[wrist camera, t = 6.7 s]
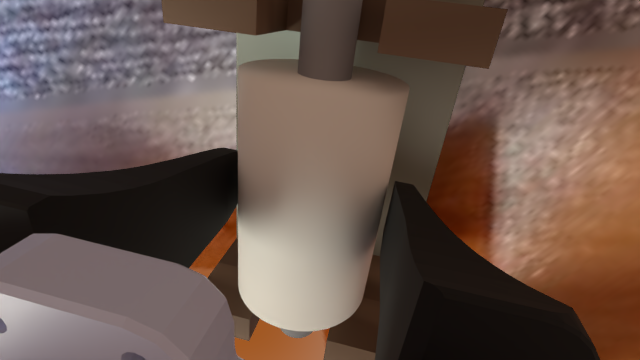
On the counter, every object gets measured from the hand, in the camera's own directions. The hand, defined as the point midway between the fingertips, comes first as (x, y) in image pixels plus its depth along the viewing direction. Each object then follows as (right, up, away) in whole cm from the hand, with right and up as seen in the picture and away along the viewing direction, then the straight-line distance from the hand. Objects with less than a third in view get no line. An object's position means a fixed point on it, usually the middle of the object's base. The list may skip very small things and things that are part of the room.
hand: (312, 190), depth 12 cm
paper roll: (0, 0, 0) cm, 0 cm away
